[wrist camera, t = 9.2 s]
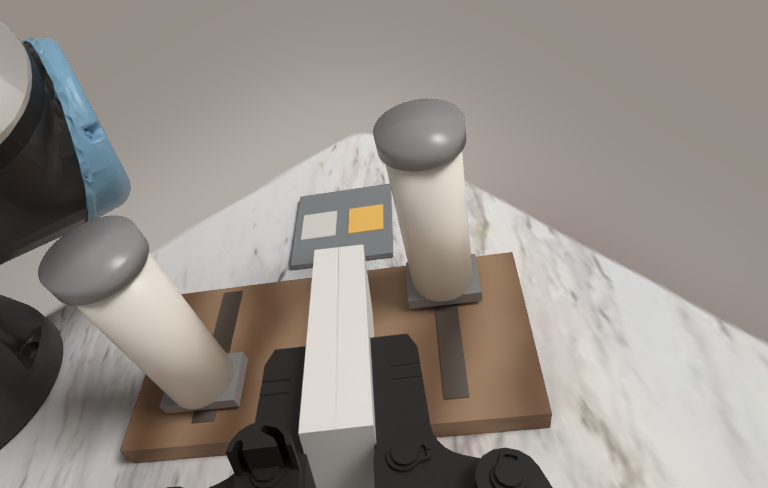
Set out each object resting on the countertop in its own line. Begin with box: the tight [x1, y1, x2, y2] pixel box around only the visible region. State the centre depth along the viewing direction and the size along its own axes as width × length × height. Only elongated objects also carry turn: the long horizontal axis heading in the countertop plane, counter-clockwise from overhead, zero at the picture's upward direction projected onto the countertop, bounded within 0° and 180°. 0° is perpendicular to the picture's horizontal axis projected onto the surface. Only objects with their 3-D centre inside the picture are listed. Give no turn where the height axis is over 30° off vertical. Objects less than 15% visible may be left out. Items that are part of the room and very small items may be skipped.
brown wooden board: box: [120, 252, 552, 463], centre depth 38 cm, size 28×13×2 cm, turn 91°
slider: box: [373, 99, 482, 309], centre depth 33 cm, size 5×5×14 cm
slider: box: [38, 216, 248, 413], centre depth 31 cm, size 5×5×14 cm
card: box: [290, 184, 393, 270], centre depth 48 cm, size 9×9×1 cm
